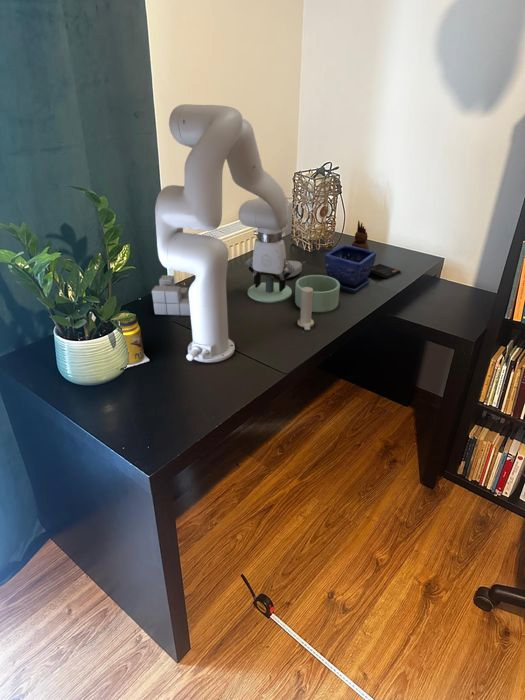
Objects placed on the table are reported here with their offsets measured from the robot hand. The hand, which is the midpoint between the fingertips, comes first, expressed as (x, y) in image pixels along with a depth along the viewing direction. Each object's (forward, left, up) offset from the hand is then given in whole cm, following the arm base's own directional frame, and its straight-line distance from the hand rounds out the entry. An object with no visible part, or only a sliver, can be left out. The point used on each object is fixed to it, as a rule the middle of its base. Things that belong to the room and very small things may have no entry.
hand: (269, 287), depth 163 cm
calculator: (+31, -30, -3) cm, 43 cm away
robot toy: (+17, +3, -3) cm, 17 cm away
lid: (0, 0, -2) cm, 2 cm away
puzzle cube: (-19, +24, -3) cm, 30 cm away
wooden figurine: (+41, -20, -3) cm, 46 cm away
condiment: (-51, +20, -3) cm, 55 cm away
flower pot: (+16, -22, -3) cm, 28 cm away
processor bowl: (-1, -16, -2) cm, 17 cm away
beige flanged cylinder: (-16, -18, -2) cm, 24 cm away
